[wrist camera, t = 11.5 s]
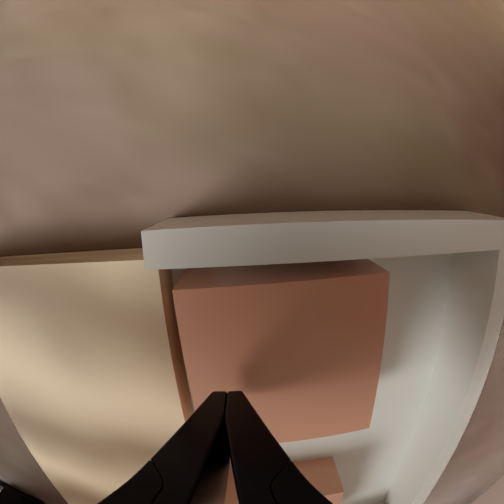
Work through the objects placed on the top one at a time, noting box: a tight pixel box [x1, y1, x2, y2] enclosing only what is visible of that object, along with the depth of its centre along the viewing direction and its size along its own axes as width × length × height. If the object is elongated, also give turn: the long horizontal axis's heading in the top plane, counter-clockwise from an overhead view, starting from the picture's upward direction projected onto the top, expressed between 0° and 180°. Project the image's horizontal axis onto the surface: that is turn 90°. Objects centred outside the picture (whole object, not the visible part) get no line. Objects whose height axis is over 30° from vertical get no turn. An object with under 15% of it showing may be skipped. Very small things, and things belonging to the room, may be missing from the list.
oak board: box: [0, 248, 194, 504], centre depth 11 cm, size 18×10×2 cm, turn 2°
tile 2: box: [172, 259, 390, 443], centre depth 10 cm, size 6×6×2 cm
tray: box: [141, 210, 504, 504], centre depth 11 cm, size 20×12×3 cm, turn 2°
